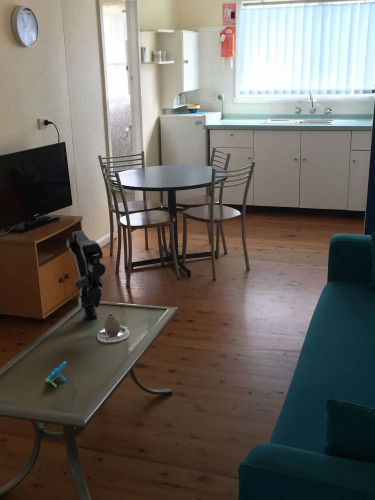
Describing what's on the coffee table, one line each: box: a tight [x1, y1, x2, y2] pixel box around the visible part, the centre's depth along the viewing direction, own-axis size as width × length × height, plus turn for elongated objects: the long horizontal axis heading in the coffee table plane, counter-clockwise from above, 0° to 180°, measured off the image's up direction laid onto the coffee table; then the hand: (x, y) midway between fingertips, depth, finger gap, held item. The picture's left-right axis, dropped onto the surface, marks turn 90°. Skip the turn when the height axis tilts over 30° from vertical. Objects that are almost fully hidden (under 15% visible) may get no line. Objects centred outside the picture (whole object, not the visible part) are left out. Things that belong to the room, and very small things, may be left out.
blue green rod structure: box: [44, 361, 67, 388], centre depth 214 cm, size 11×6×10 cm
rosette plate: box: [96, 324, 131, 344], centre depth 250 cm, size 14×14×2 cm
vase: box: [103, 313, 121, 336], centre depth 249 cm, size 7×7×9 cm
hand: (97, 303), depth 256 cm, fingers open, 9 cm apart
